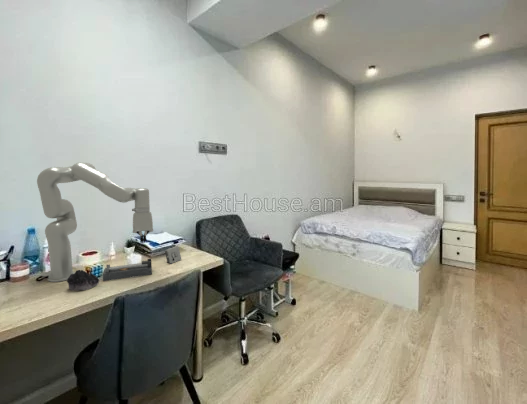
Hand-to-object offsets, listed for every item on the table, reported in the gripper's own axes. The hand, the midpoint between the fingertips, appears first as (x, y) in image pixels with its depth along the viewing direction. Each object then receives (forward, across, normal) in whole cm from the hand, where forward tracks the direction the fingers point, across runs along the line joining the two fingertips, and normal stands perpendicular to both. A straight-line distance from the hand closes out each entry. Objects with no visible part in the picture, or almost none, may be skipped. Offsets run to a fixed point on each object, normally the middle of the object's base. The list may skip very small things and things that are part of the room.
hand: (143, 242), depth 153 cm
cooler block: (+18, -8, 0) cm, 20 cm away
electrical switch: (+18, +17, +14) cm, 28 cm away
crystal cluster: (+19, -28, -8) cm, 35 cm away
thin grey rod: (+13, -8, 0) cm, 16 cm away
